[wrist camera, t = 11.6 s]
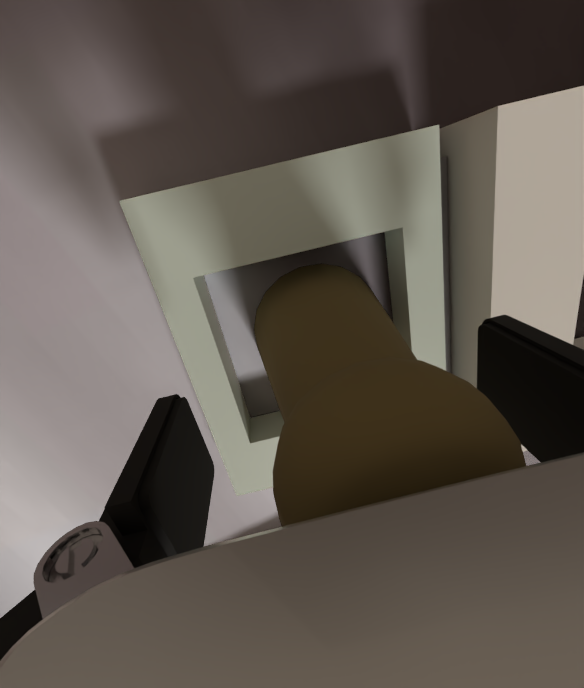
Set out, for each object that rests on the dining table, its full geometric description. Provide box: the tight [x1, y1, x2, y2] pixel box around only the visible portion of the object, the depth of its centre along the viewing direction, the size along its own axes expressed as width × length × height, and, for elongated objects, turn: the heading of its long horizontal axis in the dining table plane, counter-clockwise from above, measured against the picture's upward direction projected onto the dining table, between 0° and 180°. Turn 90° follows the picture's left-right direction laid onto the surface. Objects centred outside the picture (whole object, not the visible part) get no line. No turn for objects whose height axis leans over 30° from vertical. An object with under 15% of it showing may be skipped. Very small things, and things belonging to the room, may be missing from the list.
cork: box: [254, 264, 526, 526], centre depth 11 cm, size 6×6×11 cm
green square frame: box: [119, 125, 446, 496], centre depth 15 cm, size 11×14×2 cm
